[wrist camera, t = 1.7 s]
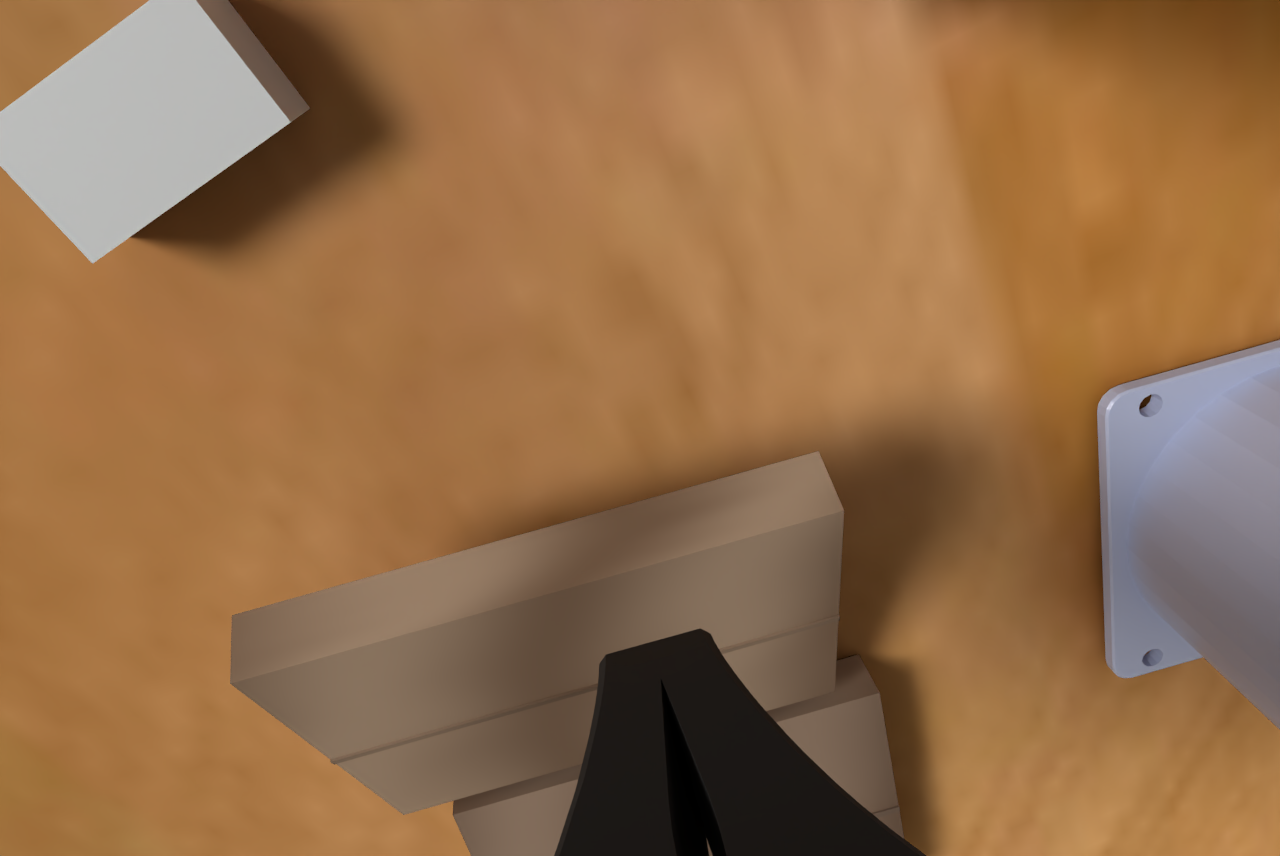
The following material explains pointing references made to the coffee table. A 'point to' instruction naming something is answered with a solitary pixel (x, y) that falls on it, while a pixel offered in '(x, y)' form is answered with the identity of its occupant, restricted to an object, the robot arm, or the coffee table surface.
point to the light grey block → (144, 119)
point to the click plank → (549, 632)
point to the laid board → (821, 726)
